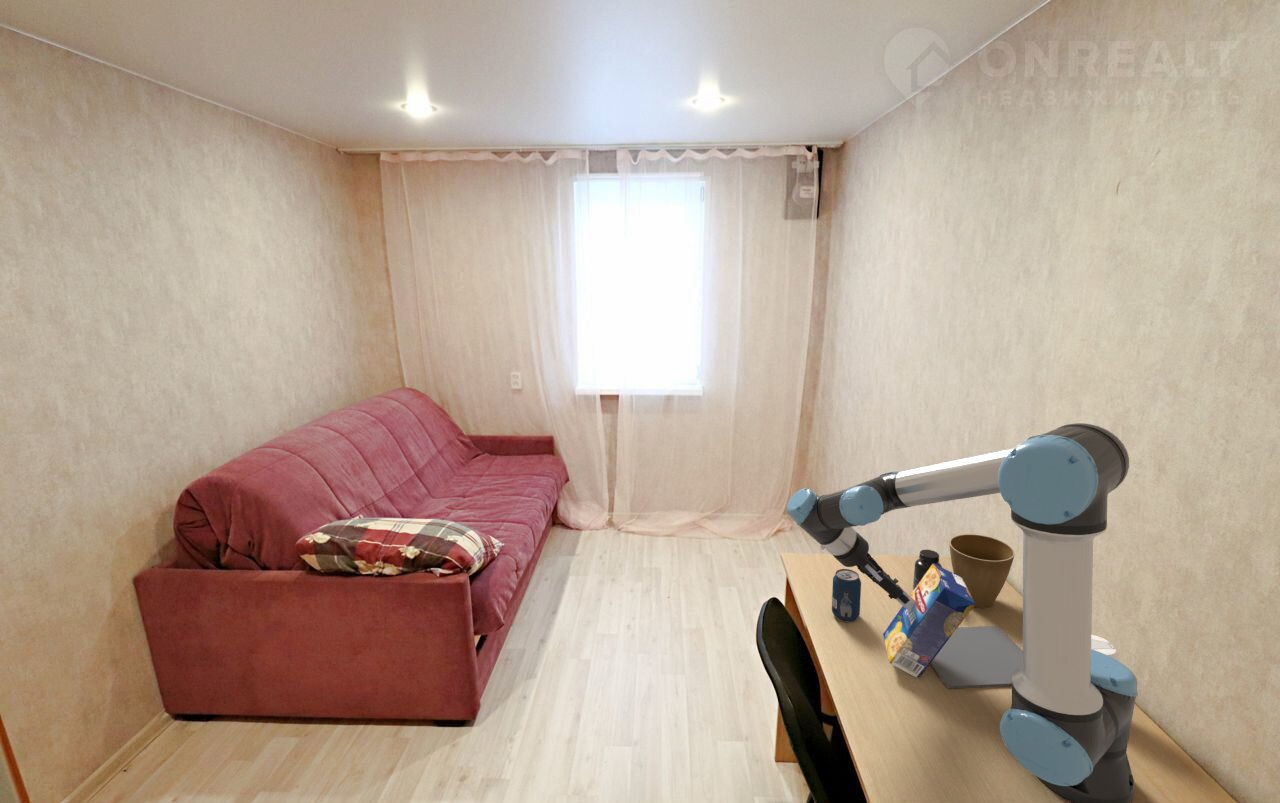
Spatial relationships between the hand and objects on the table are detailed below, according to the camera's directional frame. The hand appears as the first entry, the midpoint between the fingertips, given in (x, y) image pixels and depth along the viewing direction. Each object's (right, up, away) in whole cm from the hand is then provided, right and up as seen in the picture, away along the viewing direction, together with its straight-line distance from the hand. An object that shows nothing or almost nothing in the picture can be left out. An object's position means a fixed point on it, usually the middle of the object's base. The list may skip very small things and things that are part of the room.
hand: (913, 607), depth 131 cm
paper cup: (+29, -15, -13) cm, 35 cm away
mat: (+15, -12, +2) cm, 20 cm away
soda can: (-9, -10, +20) cm, 23 cm away
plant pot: (+28, -7, +24) cm, 38 cm away
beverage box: (-3, -12, +1) cm, 12 cm away
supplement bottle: (+17, -7, +29) cm, 34 cm away
